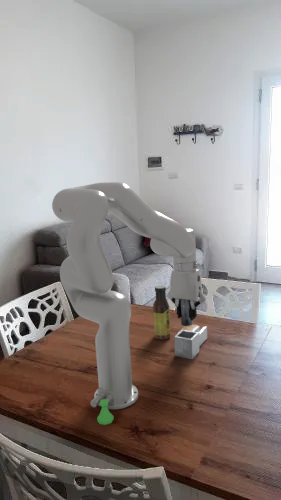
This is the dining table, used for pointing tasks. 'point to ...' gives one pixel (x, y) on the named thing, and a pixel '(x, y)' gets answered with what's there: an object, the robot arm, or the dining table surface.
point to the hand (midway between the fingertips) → (186, 317)
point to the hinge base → (187, 342)
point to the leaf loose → (202, 335)
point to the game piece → (104, 413)
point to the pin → (185, 312)
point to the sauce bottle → (161, 314)
